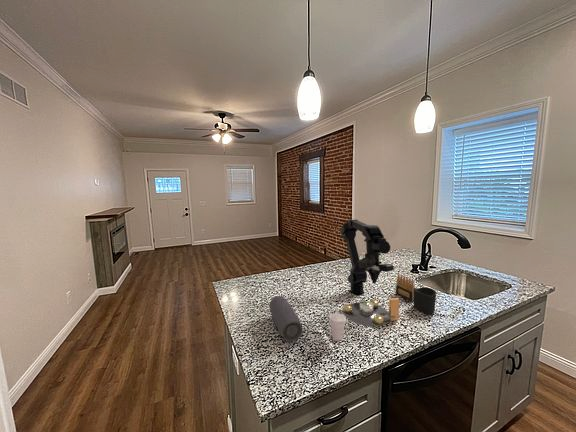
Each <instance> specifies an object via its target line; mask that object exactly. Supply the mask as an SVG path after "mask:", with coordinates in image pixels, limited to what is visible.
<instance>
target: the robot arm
mask: <svg viewBox="0 0 576 432" xmlns="http://www.w3.org/2000/svg"><path fill="white" fill-rule="evenodd" d="M339 231H340V232H339V233H340V235H341V237H342V239H343V240H344V241H345V242H346V246H347V251H348V255H349V256H348V257H349V260H350V264H351V267H350V270H349V273H350V274H349V275H348V276H347V281H348V283H350V287H349V288H350V290H348V293H349V294H353V295H355V296H360V295H363V294H365V291H364V283H365V284H366V282H367V279H368V274H369V276H370V279H371V281H372V284H373V285H374V284H376V283H377V281H378V280H379V276H380V274H381V272H385V273H389V272H392V271H394V270H395V268H394V267H395V266H394V265H393V264H392V263H386V262H385V263H382V261H381V260H380V256H381V255H382V254H385V255H386V254H388V253H389V252H390V250H391V245H390V243H389V242H388V241H387V238H385V237H384V236H385V235H384V234H383V232H382V231H381V228H380V226H379V225H375V224H367V223H364V222H362V221H359V220H358V219H349V220H348V221H347V222H346V223H344V224H342V226H341V228H340V230H339ZM358 231H360V232H361V235H362V236H363V237H365V239H364V240H363V242H364V243H365V245H366V246H365V248H366V249H365V250H366V253H364V257H363V258H361V259H360V257H359V251H358V248H357V244H356V241H355V239H356V237H357V232H358Z"/></svg>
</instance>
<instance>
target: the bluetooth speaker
mask: <svg viewBox="0 0 576 432" xmlns="http://www.w3.org/2000/svg"><path fill="white" fill-rule="evenodd" d="M269 311H270V314H271V316H272V320H273V322H274V325H275V326H276V328H277V329H278V332H279V334H280V335H281V337H282V338H283V339H284V341H287V342H296V341H297V340H299V339H300V338H301V336H302V334H303V331H304V330H303V329H304V328H303V325H302V322H301V321H300V318H299V317H298V315H297V314H296V312H295V310H294V309H293V307H292V305H291V304H290V303H289V302H288V300H287V299H286V298H285V297H283V296H281V295H275V296H274V297H272V298H271V300H270V302H269Z"/></svg>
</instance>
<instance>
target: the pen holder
mask: <svg viewBox="0 0 576 432" xmlns="http://www.w3.org/2000/svg"><path fill="white" fill-rule="evenodd" d="M436 298H437V291H436V290H435V289H433V288H429V287H428V286H426V287H425V286H423V287H419V288H416V287H414V301H413V308H414V309H415V310H416V311H418V312H421V313H422V314H424V315H426V316H428V315H430V316H431V315H433V314H434V313H435V310H436V309H435V307H436V302H437V301H436Z"/></svg>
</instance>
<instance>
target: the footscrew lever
mask: <svg viewBox="0 0 576 432" xmlns="http://www.w3.org/2000/svg"><path fill="white" fill-rule="evenodd" d="M388 300H389V301H388V302H389V303H388V312H389V315H384V316H381V315H374V317H373V322H374V324H376V325H382V326H384V325H383V320H387V319H389V322H394V321H398V320H399V312H400V298H399V297H394V298H389V299H388Z"/></svg>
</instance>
